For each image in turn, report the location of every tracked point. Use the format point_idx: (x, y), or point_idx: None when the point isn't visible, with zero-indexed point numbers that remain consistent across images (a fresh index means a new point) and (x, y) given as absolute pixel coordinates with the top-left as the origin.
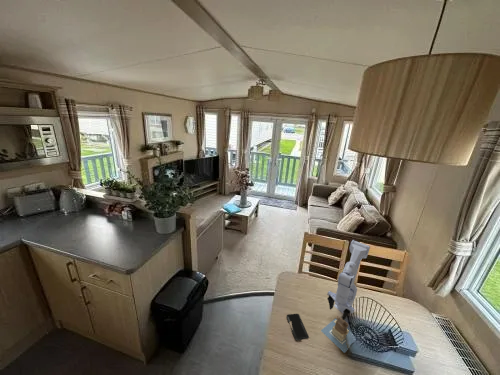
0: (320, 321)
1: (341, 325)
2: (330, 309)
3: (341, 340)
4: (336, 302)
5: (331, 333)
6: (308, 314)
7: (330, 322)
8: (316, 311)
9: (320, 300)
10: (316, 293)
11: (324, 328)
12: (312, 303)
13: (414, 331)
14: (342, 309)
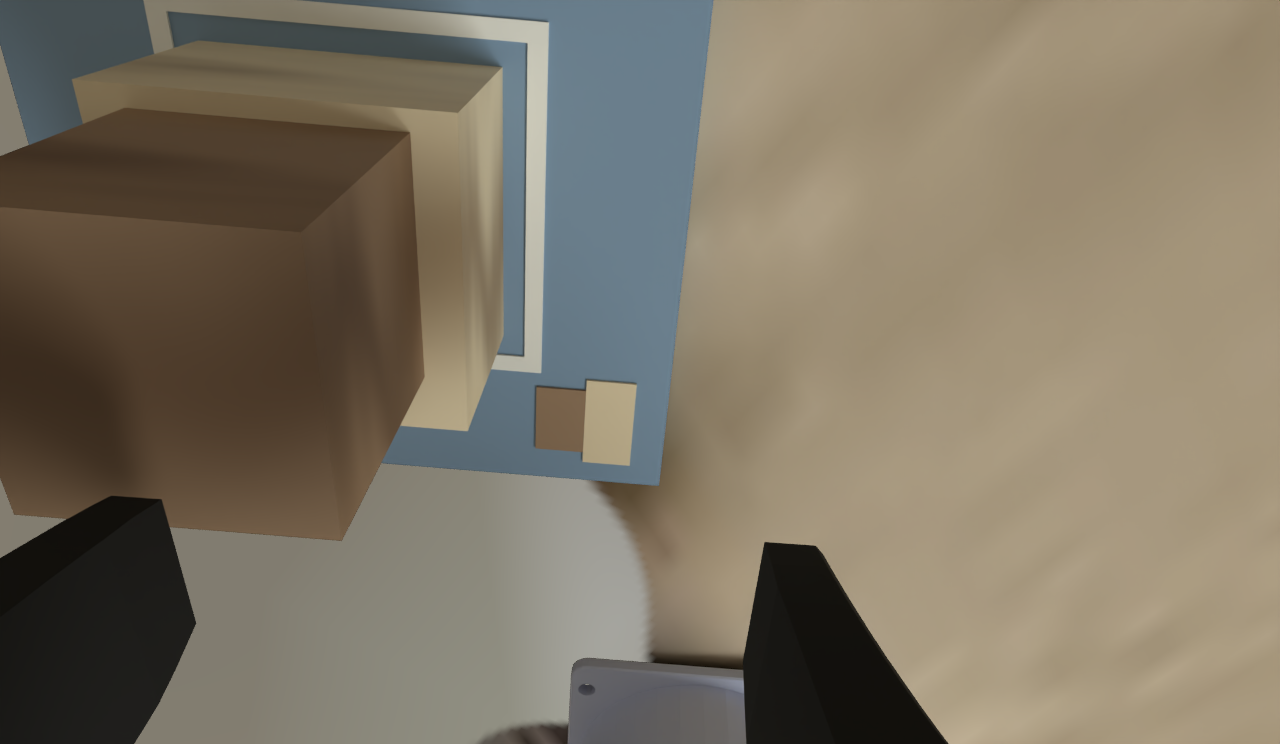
0: (875, 148)
1: (42, 236)
2: (774, 546)
3: (189, 48)
4: None
5: (485, 40)
6: (1240, 66)
7: (677, 310)
8: (1077, 323)
9: (1101, 617)
10: (1236, 692)
11: (690, 19)
12: (1242, 438)
13: None
14: (653, 732)
